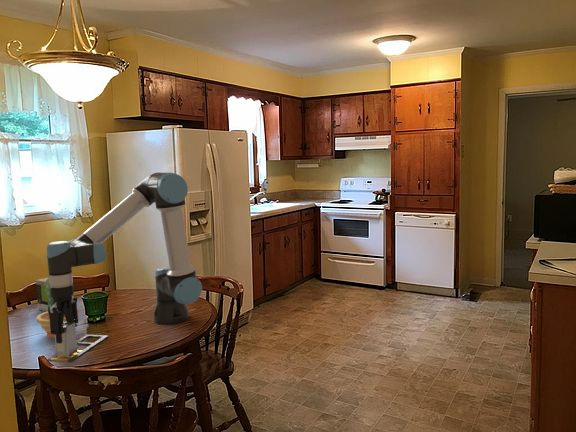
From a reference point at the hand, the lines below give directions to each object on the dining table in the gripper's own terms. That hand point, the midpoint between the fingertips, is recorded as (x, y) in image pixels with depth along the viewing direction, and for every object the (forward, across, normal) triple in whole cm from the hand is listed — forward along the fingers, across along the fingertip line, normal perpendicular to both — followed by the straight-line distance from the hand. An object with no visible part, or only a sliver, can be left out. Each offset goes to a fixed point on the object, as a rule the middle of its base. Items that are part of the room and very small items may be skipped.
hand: (66, 347), depth 176 cm
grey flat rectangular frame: (+3, -8, 0) cm, 8 cm away
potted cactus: (+3, -20, -18) cm, 27 cm away
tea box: (+3, -50, -40) cm, 64 cm away
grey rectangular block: (+2, 0, 0) cm, 2 cm away
